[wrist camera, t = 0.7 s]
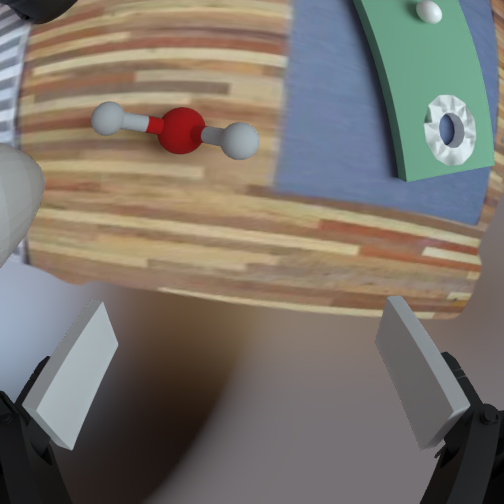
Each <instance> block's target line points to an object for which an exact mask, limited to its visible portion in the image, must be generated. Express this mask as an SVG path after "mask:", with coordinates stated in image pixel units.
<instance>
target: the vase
mask: <svg viewBox="0 0 504 504" xmlns="http://www.w3.org/2000/svg"><path fill="white" fill-rule="evenodd" d="M44 189H45V178H44V174H43V171H42V169H41V167H40V166H39V165H38V164H37V163H36V162H35V161H34V160H33V159H32V158H31V157H30V156H28V155H27V154H25V153H23V152H21V151H19V150H17V149H16V148H13V147H11V146H8V145H6V144H2V143H0V268H1V267H2V265H3V264H4V263H5V262H6V260H7V259H8V258H9V256H10V255H11V254H12V252H13V251H14V250H15V248H16V247H17V246H18V245H19V243H20V242H21V240H22V239H23V238H24V236H25V234H26V233H27V231H28V229H29V227H30V225H31V223H32V221H33V219H34V217H35V215H36V213H37V211H38V209H39V206H40V204H41V201H42V196H43V193H44Z"/></svg>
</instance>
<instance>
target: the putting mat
mask: <svg viewBox="0 0 504 504" xmlns="http://www.w3.org/2000/svg"><path fill="white" fill-rule="evenodd" d="M420 1H422V0H353V3H354V5H355V8H356V10H357V13H358V15H359V18H360V21H361V23H362V26H363V29H364V32H365V34H366V37H367V40H368V43H369V46H370V49H371V53H372V56H373V59H374V62H375V66H376V69H377V73H378V77H379V80H380V84H381V88H382V92H383V96H384V100H385V104H386V109H387V114H388V118H389V123H390V128H391V133H392V139H393V145H394V151H395V157H396V164H397V171H398V178H399V179H401V180H403V181H405V182H410V181H415V180H420V179H425V178H430V177H435V176H440V175H445V174H450V173H455V172H460V171H465V170H471V169H476V168H482V167H487V166H493V165H495V163H494V147H493V137H492V128H491V120H490V113H489V107H488V101H487V95H486V90H485V85H484V81H483V76H482V72H481V68H480V64H479V60H478V57H477V53H476V50H475V46H474V43H473V40H472V37H471V34H470V31H469V28H468V25H467V22H466V20H465V17H464V14H463V12H462V9H461V7H460V4H459V2H458V0H430V1H432V2H434V3H435V4H437V5H438V6H439V8H440V9H441V12H442V18H441V20H440V21H439V22H438V23H435V24H430V23H427V22H425V21H423V20H422V19H421V18H420V17H419V16H418V14H417V12H416V6H417V4H418V2H420ZM444 114H447V115H448V116H450V118H451V120H452V121H453V123H454V129H455V134H454V138H453V140H452V142H451V143H450V144H449V145H445V144H444V143H443V141H442V139H441V138H440V134H439V123H440V119H441V117H442V116H443V115H444Z"/></svg>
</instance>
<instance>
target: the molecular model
mask: <svg viewBox="0 0 504 504" xmlns="http://www.w3.org/2000/svg"><path fill="white" fill-rule="evenodd" d="M91 124H92V127H93V129H94V130H95V132H97V133H98V134H100V135H104V136H108V135H112V134H114V133H116V132H117V131H119V130H120V129H125V130H133V131H139V132H146V133H152V134H157V135H158V139H159V142H160V144H161V145H162V146H163V147H164V148H165V149H166V150H167V151H169V152H171V153H174V154H186V153H190V152H192V151H194V150H195V149H196V148H198V147H199V145H200V144H201V143H207V144H212V145H216V146H221V148H222V150H223V152H224V153H225V154H226V155H227V156H228V157H230V158H232V159H235V160H244V159H247V158H249V157H251V156H252V155H253V154H254V153H255V152H256V150H257V149H258V146H259V136H258V133H257V132H256V130H255V129H254V128H253V127H252V126H251V125H249V124H247V123H242V122H237V123H233V124H231V125H229V126H228V127H226V128H225V129H222V128H215V127H209V126H205V123H204V120H203V118H202V117H201V115H200V114H199V113H198V112H196V111H195V110H193V109H190V108H185V107H180V108H175V109H173V110H171V111H169V112H167V113H166V114H165V115H164V116H163V117H162V119H161V118H155V117H150V116H144V115H139V114H133V113H126V112H124V110H123V108H122V107H121V106H120V105H119V104H117V103H115V102H104V103H102V104H100V105H99V106H98V107H97V108H96V109H95V110H94V112H93V114H92V117H91Z"/></svg>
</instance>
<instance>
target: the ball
mask: <svg viewBox="0 0 504 504" xmlns="http://www.w3.org/2000/svg"><path fill="white" fill-rule="evenodd" d="M416 12H417V14H418V16H419V17H420V18H421V19H422V20H423V21H425V22H427V23H430V24H435V23H438V22H439V21H440V20H441V18H442V12H441V9H440V8H439V6H438V5H437V4H435V3H434V2H432V1H430V0H422V1H420V2H418V4H417V6H416Z"/></svg>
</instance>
